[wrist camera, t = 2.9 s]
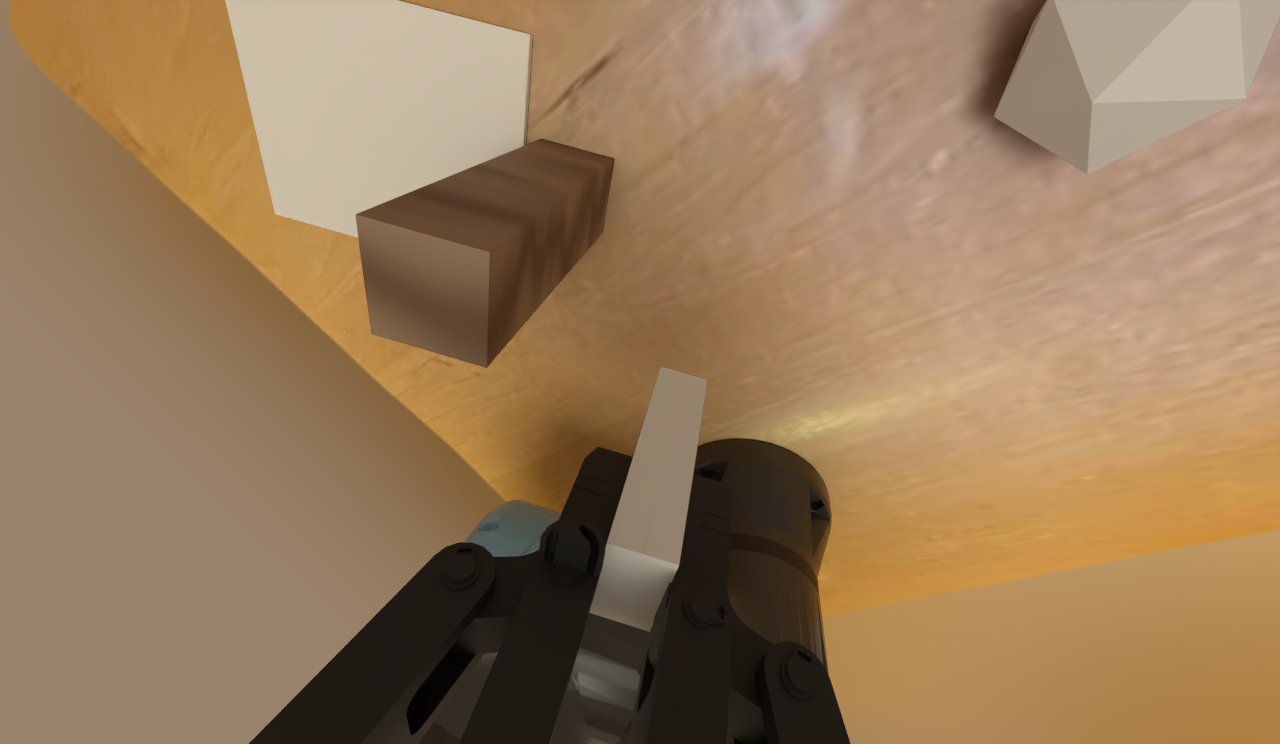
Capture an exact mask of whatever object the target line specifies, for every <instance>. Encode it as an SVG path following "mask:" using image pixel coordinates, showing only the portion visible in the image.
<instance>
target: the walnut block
mask: <svg viewBox="0 0 1280 744" xmlns="http://www.w3.org/2000/svg"><path fill="white" fill-rule="evenodd" d="M614 159H615V158H611V157H607V156H603V155H600V154H596V153H592V152H589V151H585V150H581V149H577V148H574V147H570V146H566V145H562V144H559V143H555V142H551V141H548V140H544V139H540V140H537V141H535V142H532V143H530V144H527V145H525V146H523V147H520V148H518V149H515V150H513V151H510V152H508V153H505V154H503V155H500V156H498V157H495V158H493V159H491V160H488V161H486V162H483V163H481V164H478V165H476V166H473V167H471V168H468V169H466V170H463V171H461V172H458V173H456V174H454V175H451V176H449V177H446V178H444V179H441V180H439V181H436V182H434V183H431V184H429V185H426V186H424V187H421V188H419V189H417V190H414V191H412V192H409V193H407V194H404V195H402V196H399V197H397V198H394V199H392V200H389V201H387V202H384V203H382V204H380V205H377V206H375V207H372V208H370V209H367V210H365V211H362V212H360V213H357V214H355V216H356V224H357V231H358V238H359V246H360V253H361V260H362V268H363V275H364V282H365V290H366V297H367V304H368V312H369V319H370V326H371V334H374V335H377V336H380V337H384V338H387V339H391V340H394V341H397V342H401V343H404V344H408V345H411V346H414V347H418V348H421V349H425V350H428V351H431V352H435V353H438V354H442V355H445V356H448V357H452V358H455V359H458V360H462V361H465V362H469V363H472V364H475V365H479V366H482V367H486V368H487V367H488V366H489V364H490V363H491V362H492V361H493V360H494V359H495V357H496V356H497V355H498V354H499V353H500V352H501V350H502V349H503V348H504V347H505V346H506V345H507V343H508V342H509V341H510V340H511V339H512V338H513V336H514V335H515V334H516V333H517V332H518V331H519V329H520V328H521V327H522V326H523V325H524V324H525V322H526V321H527V320H528V319H529V318H530V317H531V315H532V314H533V313H534V312H535V311H536V309H537V308H538V307H539V306H540V305H541V304H542V302H543V301H544V300H545V299H546V298H547V297H548V295H549V294H550V293H551V292H552V291H553V290H554V288H555V287H556V286H557V285H558V284H559V283H560V281H561V280H562V279H563V278H564V277H565V276H566V274H567V273H568V272H569V271H570V270H571V269H572V267H573V266H574V265H575V264H576V263H577V262H578V260H579V259H580V258H581V257H582V256H583V255H584V253H585V252H586V251H587V250H588V249H589V248H590V246H591V245H592V244H593V243H594V242H595V240H596V239H597V238H598V237H599V236H600V235H601V233H602V232H603V226H604V220H605V214H606V208H607V202H608V196H609V189H610V183H611V177H612V171H613V165H614Z"/></svg>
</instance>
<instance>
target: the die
mask: <svg viewBox="0 0 1280 744" xmlns="http://www.w3.org/2000/svg"><path fill="white" fill-rule="evenodd" d="M1279 17H1280V0H1047V1H1046V2H1045V4H1044V5H1043V7H1042V9H1041V10H1040V12H1039V13H1038V15H1037V17H1036V18H1035V20H1034V21H1033V23H1032V25H1031V28H1030V30H1029V33H1028V35H1027V38H1026V40H1025V42H1024V45H1023V47H1022V50H1021V52H1020V54H1019V57H1018V59H1017V62H1016V64H1015V66H1014V69H1013V71H1012V74H1011V76H1010V79H1009V81H1008V83H1007V86H1006V88H1005V91H1004V93H1003V95H1002V98H1001V100H1000V103H999V105H998V107H997V110H996V112H995V115H994V117H995V118H996V119H998V120H1000V121H1001V122H1003V123H1005V124H1006V125H1008V126H1009V127H1011V128H1013V129H1014V130H1016V131H1018V132H1019V133H1021V134H1023V135H1024V136H1026V137H1027V138H1029V139H1031V140H1032V141H1034V142H1036V143H1037V144H1039V145H1040V146H1042V147H1044V148H1045V149H1047V150H1049V151H1050V152H1052V153H1053V154H1055V155H1057V156H1058V157H1060V158H1062V159H1063V160H1065V161H1066V162H1068V163H1070V164H1071V165H1073V166H1075V167H1076V168H1078V169H1079V170H1081V171H1083V172H1084V173H1086V174H1089V173H1091V172H1093V171H1095V170H1097V169H1099V168H1102V167H1104V166H1106V165H1108V164H1110V163H1112V162H1114V161H1116V160H1118V159H1120V158H1123V157H1125V156H1127V155H1129V154H1131V153H1133V152H1135V151H1137V150H1139V149H1141V148H1144V147H1146V146H1148V145H1150V144H1152V143H1154V142H1156V141H1158V140H1160V139H1162V138H1165V137H1167V136H1169V135H1171V134H1173V133H1175V132H1177V131H1179V130H1181V129H1183V128H1186V127H1188V126H1190V125H1192V124H1194V123H1196V122H1198V121H1200V120H1202V119H1205V118H1207V117H1209V116H1211V115H1213V114H1215V113H1217V112H1219V111H1221V110H1223V109H1226V108H1228V107H1230V106H1232V105H1234V104H1236V103H1238V102H1240V101H1242V100H1244V99H1246V97H1247V94H1248V92H1249V89H1250V87H1251V85H1252V82H1253V80H1254V77H1255V75H1256V72H1257V70H1258V68H1259V65H1260V63H1261V60H1262V58H1263V55H1264V53H1265V51H1266V48H1267V46H1268V43H1269V41H1270V38H1271V36H1272V34H1273V31H1274V29H1275V26H1276V24H1277V21H1278V19H1279Z"/></svg>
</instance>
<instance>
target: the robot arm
mask: <svg viewBox="0 0 1280 744" xmlns="http://www.w3.org/2000/svg"><path fill="white" fill-rule="evenodd" d="M707 381H708V380H706V379H702V378H699V377H695V376H692V375H689V374H685V373H682V372H678V371H675V370H671V369H668V368H664V367H661V368H660V371H659V374H658V378H657V381H656V384H655V387H654V391H653V394H652V397H651V401H650V404H649V407H648V410H647V414H646V417H645V420H644V423H643V427H642V430H641V433H640V436H639V440H638V443H637V446H636V449H635V453H634V456H633V457H630V456H627V455H624V454H620V453H617V452H614V451H610V450H607V449H604V448H600V447H597V448H596V449H595V450H594V451H593V452H591V453H590V454H589V455H588V456H587V457H586V458H585V459H584V462H583V464H582V466H581V469H580V471H579V474H578V476H577V478H576V480H575V483H574V485H573V488H572V490H571V492H570V495H569V497H568V499H567V502H566V504H565V506H564V509H563V511H562V513H561V514H559V513H557V512H554V511H551V510H548V509H545V508H543V507H540V506H537V505H534V504H531V503H529V502H526V501H521V500H512V501H507V502H504V503H502V504H500V505H498V506H497V507H495V508H494V509H493V510H492V511H491V512H490V513H489V514H487V515H486V516H485V518H484V519H483V520H482V521H481V522H480V523H479V525H478V526H477V527H476V528H475V529H474V530H473V532H472V533H471V534H470V536H469V537H468V538H467V540H466V541H465V542H464V543H456V544H453V545H451V546H447V547H445V548H444V549H443V550H441V551H440V552H439V553H437V554H436V555H435V556H434V557H433V558H432V559H431V560H430V561H429V562H428V563H427V564H426V565H425V566H424V567H423V568H422V569H421V570H420V571H419V572H418V573H417V574H416V575H415V576H414V577H413V578H412V579H411V580H410V581H409V582H408V583H407V584H406V585H405V586H404V587H403V588H402V589H401V590H400V591H399V592H398V593H397V594H396V595H395V596H394V597H393V598H392V599H391V600H390V601H389V602H388V603H387V604H386V605H385V606H384V607H383V608H382V609H381V610H380V611H379V612H378V613H377V614H376V615H375V616H374V617H373V618H372V620H371V621H369V623H368V624H366V626H365V627H364V628H363V629H362V630H361V631H360V632H359V633H358V634H357V635H356V636H355V637H354V638H353V639H352V640H351V641H350V642H349V643H348V644H347V645H346V646H345V647H344V648H343V649H342V650H341V651H340V652H339V653H338V654H337V655H336V656H335V657H334V658H333V659H332V660H331V661H330V662H329V663H328V664H327V665H326V666H325V667H324V668H323V669H322V670H321V671H320V672H319V673H318V674H317V675H316V676H315V677H314V678H313V679H312V680H311V681H310V682H309V683H308V684H307V685H306V686H305V687H304V688H303V689H302V690H301V692H299V693H298V695H296V696H295V697H294V699H293V700H292V701H291V702H290V703H289V704H288V705H287V706H286V707H285V708H284V709H283V710H282V711H281V712H280V713H279V714H278V715H277V716H276V717H275V718H274V719H273V720H272V721H271V722H270V723H269V724H268V725H267V726H266V727H265V728H264V729H263V730H262V731H261V732H260V733H259V734H258V735H257V736H256V737H255V738H254V739H253V740H252V741H251V742H250V743H249V744H850V741H849V738H848V735H847V731H846V728H845V725H844V722H843V719H842V715H841V712H840V709H839V706H838V703H837V700H836V696H835V693H834V690H833V687H832V684H831V681H830V678H829V672H828V664H827V655H826V647H825V639H824V630H823V622H822V614H821V605H820V599H819V590H818V580H817V577H818V573H819V570H820V566H821V562H822V559H823V555H824V552H825V548H826V544H827V541H828V537H829V533H830V529H831V508H830V502H829V495H828V491H827V488H826V486H825V483H824V481H823V480H822V478H821V477H820V475H819V474H818V473H817V471H816V470H815V469H814V468H813V467H812V466H811V465H810V464H808V463H807V462H806V461H805V460H803V459H802V458H801V457H799V456H797V455H796V454H794V453H792V452H790V451H788V450H786V449H783V448H781V447H778V446H775V445H772V444H768V443H764V442H759V441H752V440H725V441H718V442H714V443H710V444H706V445H703V446H701V447H698V448H697V446H698V440H699V433H700V427H701V420H702V414H703V407H704V401H705V394H706V388H707Z"/></svg>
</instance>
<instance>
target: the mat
mask: <svg viewBox="0 0 1280 744" xmlns="http://www.w3.org/2000/svg"><path fill="white" fill-rule="evenodd" d="M225 1H226V5H227V10H228V14H229V18H230V22H231V27H232V31H233V35H234V40H235V44H236V48H237V52H238V57H239V61H240V65H241V70H242V74H243V78H244V83H245V87H246V91H247V95H248V100H249V104H250V108H251V113H252V117H253V121H254V126H255V130H256V134H257V138H258V143H259V147H260V151H261V156H262V160H263V164H264V168H265V173H266V177H267V181H268V186H269V190H270V194H271V199H272V203H273V207H274V211H275V214H277V215H280V216H284V217H287V218H291V219H294V220H298V221H301V222H305V223H308V224H312V225H315V226H319V227H322V228H326V229H329V230H333V231H336V232H340V233H343V234H347V235H350V236H354V237H358V231H357V224H356V216H355V214H357V213H360V212H362V211H365V210H367V209H370V208H372V207H375V206H377V205H380V204H382V203H384V202H387V201H389V200H392V199H394V198H397V197H399V196H402V195H404V194H407V193H409V192H412V191H414V190H417V189H419V188H421V187H424V186H426V185H429V184H431V183H434V182H436V181H439V180H441V179H444V178H446V177H449V176H451V175H454V174H456V173H458V172H461V171H463V170H466V169H468V168H471V167H473V166H476V165H478V164H481V163H483V162H486V161H488V160H491V159H493V158H495V157H498V156H500V155H503V154H505V153H508V152H510V151H513V150H515V149H518V148H520V147H523V146H525V145H526V140H527V124H528V109H529V93H530V77H531V62H532V46H533V35H532V34H528V33H524V32H520V31H516V30H512V29H509V28H505V27H501V26H497V25H493V24H489V23H485V22H481V21H478V20H474V19H470V18H466V17H462V16H458V15H454V14H450V13H447V12H443V11H439V10H435V9H431V8H427V7H423V6H420V5H416V4H412V3H408V2H404V1H400V0H225Z"/></svg>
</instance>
